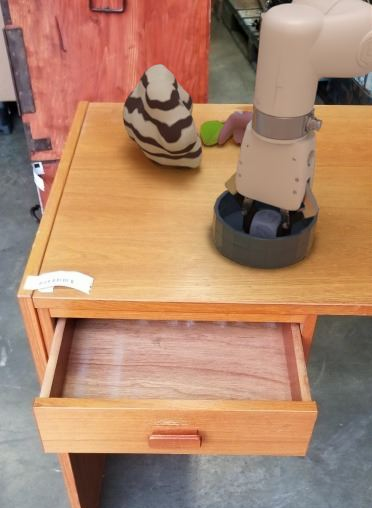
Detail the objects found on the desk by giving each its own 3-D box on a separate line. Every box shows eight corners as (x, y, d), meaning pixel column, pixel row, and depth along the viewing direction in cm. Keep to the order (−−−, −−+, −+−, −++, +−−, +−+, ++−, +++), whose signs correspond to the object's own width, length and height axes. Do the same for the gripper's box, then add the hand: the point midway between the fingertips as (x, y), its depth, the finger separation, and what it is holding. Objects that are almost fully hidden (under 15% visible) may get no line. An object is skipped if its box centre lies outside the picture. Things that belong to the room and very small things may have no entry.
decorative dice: (273, 250, 87) (276, 227, 84) (247, 243, 88) (250, 220, 85) (281, 236, 90) (285, 213, 87) (257, 229, 91) (259, 206, 88)
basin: (327, 228, 93) (333, 200, 89) (287, 281, 84) (292, 252, 80) (240, 200, 98) (243, 172, 94) (194, 247, 89) (195, 218, 85)
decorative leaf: (246, 138, 113) (246, 133, 112) (207, 147, 109) (208, 142, 108) (223, 119, 116) (224, 115, 116) (185, 128, 113) (186, 123, 112)
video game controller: (269, 161, 109) (283, 122, 106) (259, 160, 105) (274, 119, 102) (224, 145, 113) (236, 106, 110) (213, 142, 109) (225, 102, 106)
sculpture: (210, 185, 101) (215, 95, 89) (138, 194, 99) (133, 102, 87) (180, 125, 115) (181, 41, 104) (117, 132, 113) (110, 46, 102)
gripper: (354, 124, 75) (326, 245, 88) (236, 93, 80) (227, 211, 94) (332, 148, 70) (307, 271, 84) (209, 114, 76) (204, 235, 90)
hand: (265, 239), depth 89 cm, fingers closed on decorative dice, 4 cm apart
